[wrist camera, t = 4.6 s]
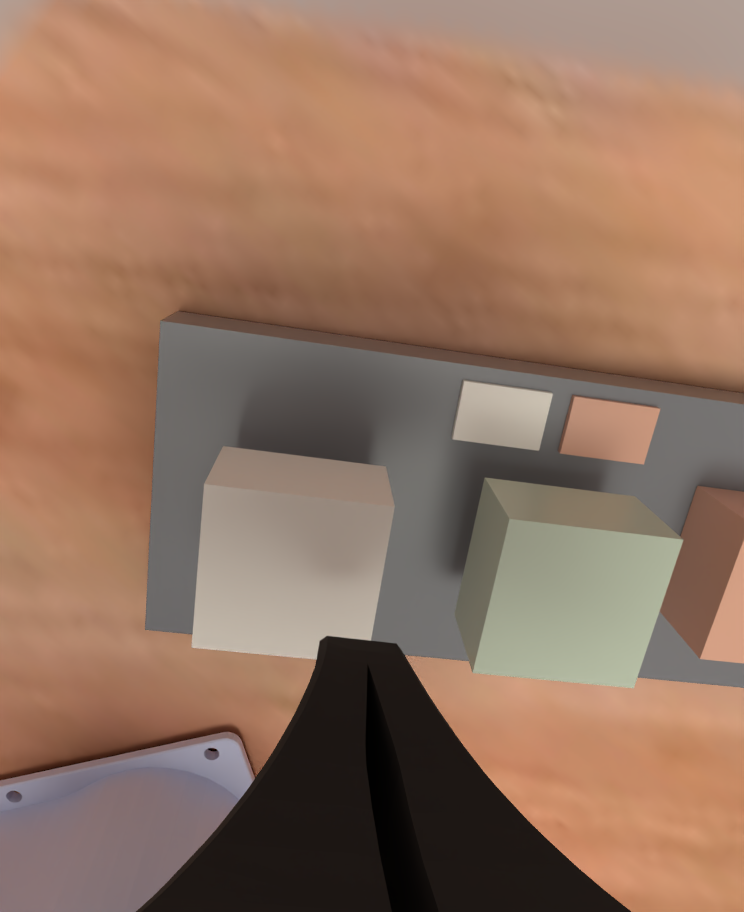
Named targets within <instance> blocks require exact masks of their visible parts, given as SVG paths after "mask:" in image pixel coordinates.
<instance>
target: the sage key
mask: <svg viewBox="0 0 744 912" xmlns="http://www.w3.org/2000/svg"><path fill="white" fill-rule="evenodd" d="M682 543H683V539H682V538H681V537H680V536H679V535H678V534H677V533H675V532H674V531H673V530H672V529H671V528H670V527H669V526H668V525H666V524H665V523H664V522H663V521H662V520H661V519H660V518H659V517H658V516H656V515H655V514H654V513H653V512H652V511H651V510H650V509H649V508H647V507H646V506H645V505H644V504H643V503H642V502H641V501H640V500H638V499H637V498H636V497H635V496H628V495H620V494H612V493H604V492H596V491H588V490H580V489H573V488H565V487H557V486H549V485H541V484H533V483H525V482H517V481H509V480H501V479H493V478H484V483H483V487H482V492H481V496H480V501H479V505H478V510H477V514H476V519H475V523H474V528H473V532H472V537H471V541H470V546H469V550H468V555H467V559H466V564H465V568H464V573H463V577H462V582H461V586H460V591H459V595H458V600H457V604H456V609H455V613H454V615H455V618H456V621H457V624H458V627H459V631H460V634H461V637H462V640H463V643H464V647H465V650H466V653H467V656H468V659H469V663H470V666H471V669H472V672H473V673H479V674H489V675H500V676H510V677H521V678H531V679H542V680H552V681H563V682H573V683H584V684H595V685H605V686H616V687H626V688H634V686H635V683H636V680H637V677H638V674H639V671H640V668H641V665H642V662H643V659H644V656H645V653H646V650H647V647H648V644H649V641H650V638H651V635H652V632H653V629H654V626H655V623H656V620H657V617H658V614H659V611H660V608H661V605H662V602H663V599H664V596H665V593H666V590H667V587H668V584H669V582H670V579H671V576H672V573H673V570H674V567H675V564H676V561H677V558H678V555H679V552H680V549H681V546H682Z"/></svg>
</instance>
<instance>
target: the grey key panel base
mask: <svg viewBox="0 0 744 912" xmlns="http://www.w3.org/2000/svg"><path fill="white" fill-rule="evenodd" d="M223 446H227V447H235V448H243V449H251V450H259V451H267V452H275V453H283V454H291V455H299V456H306V457H314V458H322V459H330V460H338V461H346V462H354V463H362V464H370V465H378V466H386V469H387V474H388V478H389V483H390V487H391V492H392V497H393V501H394V506H395V508H394V514H393V519H392V525H391V531H390V536H389V542H388V547H387V553H386V559H385V564H384V570H383V576H382V581H381V587H380V592H379V598H378V604H377V609H376V615H375V621H374V626H373V632H372V637H371V641H379V642H388V643H397V645H398V646H399V647H400V649H401V650H402V652H403V653H404V655H411V656H421V657H431V658H442V659H452V660H462V661H469V659H468V656H467V653H466V650H465V647H464V643H463V640H462V637H461V634H460V631H459V627H458V624H457V621H456V618H455V615H454V613H455V609H456V604H457V600H458V595H459V591H460V586H461V582H462V577H463V573H464V568H465V564H466V559H467V555H468V550H469V546H470V541H471V537H472V532H473V528H474V523H475V519H476V514H477V510H478V505H479V501H480V496H481V492H482V487H483V483H484V478H493V479H501V480H509V481H517V482H525V483H533V484H541V485H549V486H557V487H565V488H573V489H580V490H588V491H596V492H604V493H612V494H620V495H628V496H635V497H636V498H637V499H638V500H640V501H641V502H642V503H643V504H644V505H645V506H646V507H647V508H649V509H650V510H651V511H652V512H653V513H654V514H655V515H656V516H658V517H659V518H660V519H661V520H662V521H663V522H664V523H665V524H666V525H668V526H669V527H670V528H671V529H672V530H673V531H674V532H675V533H677V534H678V535H679V536H681V533H682V530H683V527H684V524H685V521H686V518H687V515H688V512H689V509H690V506H691V503H692V500H693V497H694V494H695V491H696V488H697V486H704V487H711V488H719V489H727V490H735V491H742V492H744V393H739V392H732V391H725V390H718V389H711V388H705V387H698V386H691V385H684V384H677V383H670V382H663V381H656V380H649V379H643V378H636V377H629V376H622V375H615V374H608V373H601V372H594V371H587V370H581V369H574V368H567V367H560V366H553V365H546V364H539V363H532V362H526V361H519V360H512V359H505V358H498V357H491V356H484V355H477V354H470V353H464V352H457V351H450V350H443V349H436V348H429V347H422V346H415V345H408V344H402V343H395V342H388V341H381V340H374V339H367V338H360V337H353V336H346V335H340V334H333V333H326V332H319V331H312V330H305V329H298V328H291V327H284V326H278V325H271V324H264V323H257V322H250V321H243V320H236V319H229V318H223V317H216V316H209V315H202V314H195V313H188V312H181V311H178V312H176V313H174V314H172V315H170V316H168V317H166V318H165V319H163V320H161V321H160V339H159V359H158V379H157V399H156V420H155V440H154V460H153V480H152V500H151V520H150V541H149V561H148V581H147V601H146V621H145V630H152V631H162V632H173V633H183V634H193V622H194V609H195V595H196V582H197V569H198V556H199V543H200V530H201V517H202V504H203V491H204V483H205V481H206V479H207V477H208V475H209V473H210V471H211V469H212V467H213V465H214V463H215V461H216V459H217V457H218V455H219V453H220V451H221V449H222V447H223ZM638 678H648V679H659V680H669V681H679V682H690V683H700V684H710V685H721V686H731V687H741V688H744V663H734V662H724V661H714V660H704V659H699V657H698V656H697V655H696V654H695V653H694V651H693V650H692V649H691V648H690V647H689V646H688V644H687V643H686V642H685V641H684V640H683V638H682V637H681V636H680V635H679V634H678V633H677V631H676V630H675V629H674V628H673V627H672V626H671V624H670V623H669V622H668V621H667V620H666V618H665V617H664V616H663V615H662V614H661V613H660V611H659V614H658V617H657V620H656V623H655V626H654V629H653V632H652V635H651V638H650V641H649V644H648V647H647V650H646V653H645V656H644V659H643V662H642V665H641V668H640V671H639V674H638Z"/></svg>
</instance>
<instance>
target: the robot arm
mask: <svg viewBox="0 0 744 912" xmlns="http://www.w3.org/2000/svg"><path fill="white" fill-rule="evenodd" d="M208 748H215V749H217V750H218V751H210V750H208ZM14 791H17V792H19V793H16V792H14ZM0 912H631V911H630V910H628V909H627V908H626V907H625V906H623V905H622V904H621V903H620V902H618V901H617V900H616V899H615V898H613V897H612V896H611V895H610V894H608V893H607V892H606V891H605V890H603V889H602V888H601V887H600V886H599V885H597V884H596V883H595V882H594V881H593V880H592V879H590V878H589V877H588V876H587V875H586V874H585V873H583V872H582V871H581V870H580V869H579V868H578V867H576V866H575V865H574V864H573V863H572V862H571V861H570V860H569V859H568V858H567V857H566V856H565V855H563V854H562V853H561V852H560V851H559V850H558V849H557V848H556V847H555V846H554V845H553V844H552V843H550V842H549V841H548V840H547V839H546V838H545V837H544V836H543V835H542V834H541V833H540V832H539V831H538V830H537V829H536V828H535V827H534V826H533V825H532V824H531V823H530V822H529V821H528V820H527V819H526V818H525V817H524V816H523V815H522V814H521V813H520V812H519V811H518V810H517V808H516V807H515V806H514V805H513V804H512V803H511V802H510V801H509V800H508V799H507V798H506V797H505V796H504V794H503V793H502V792H501V791H500V790H499V789H498V788H497V787H496V786H495V785H494V783H493V782H492V781H491V780H490V779H489V778H488V776H487V775H486V774H485V773H484V772H483V770H482V769H481V768H480V766H479V765H478V764H477V763H476V761H475V760H474V759H473V757H472V756H471V755H470V754H469V752H468V751H467V750H466V748H465V747H464V746H463V744H462V743H461V742H460V740H459V739H458V738H457V736H456V735H455V733H454V732H453V730H452V729H451V728H450V726H449V725H448V723H447V722H446V720H445V719H444V717H443V716H442V715H441V713H440V712H439V710H438V709H437V707H436V706H435V704H434V703H433V701H432V700H431V698H430V696H429V695H428V693H427V692H426V690H425V688H424V687H423V685H422V684H421V682H420V680H419V679H418V677H417V675H416V674H415V672H414V670H413V669H412V667H411V665H410V664H409V662H408V660H407V659H406V657H405V655H404V653H403V652H402V650H401V649H400V647H399V646H398V645H397V643H388V642H379V641H370V640H361V639H352V638H343V637H334V636H326V637H325V638H323V639H322V640H320V641H319V648H318V654H317V660H316V666H315V669H314V671H313V674H312V677H311V680H310V682H309V685H308V687H307V689H306V691H305V693H304V695H303V698H302V700H301V702H300V704H299V706H298V708H297V710H296V712H295V714H294V716H293V718H292V720H291V722H290V723H289V725H288V727H287V729H286V730H285V732H284V734H283V736H282V737H281V739H280V741H279V743H278V744H277V746H276V748H275V749H274V751H273V753H272V754H271V756H270V757H269V759H268V760H267V762H266V763H265V765H264V766H263V768H262V769H261V771H260V772H259V774H258V775H257V777H256V778H255V777H254V774H253V772H252V769H251V766H250V763H249V760H248V758H247V755H246V752H245V749H244V746H243V744H242V741H241V739H240V738H239V736H237V735H236V734H235V733H231V732H222V733H217V734H213V735H208V736H203V737H199V738H194V739H190V740H185V741H180V742H176V743H171V744H166V745H162V746H157V747H153V748H148V749H143V750H139V751H134V752H130V753H125V754H120V755H116V756H111V757H106V758H102V759H97V760H93V761H88V762H83V763H79V764H74V765H70V766H65V767H60V768H56V769H51V770H46V771H42V772H37V773H33V774H28V775H23V776H19V777H14V778H10V779H5V780H0Z"/></svg>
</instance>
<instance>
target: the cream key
mask: <svg viewBox="0 0 744 912" xmlns="http://www.w3.org/2000/svg"><path fill="white" fill-rule="evenodd" d="M394 508H395V506H394V501H393V497H392V492H391V487H390V483H389V478H388V474H387V469H386V466H378V465H370V464H362V463H354V462H346V461H338V460H330V459H322V458H314V457H306V456H299V455H291V454H283V453H275V452H267V451H259V450H251V449H243V448H235V447H227V446H223V447H222V449H221V451H220V453H219V455H218V457H217V459H216V461H215V463H214V465H213V467H212V469H211V471H210V473H209V475H208V477H207V479H206V481H205V483H204V491H203V504H202V517H201V530H200V543H199V556H198V569H197V582H196V595H195V609H194V622H193V635H192V648H200V649H210V650H221V651H231V652H242V653H253V654H263V655H274V656H284V657H295V658H305V659H316V660H317V654H318V648H319V641H320V640H322V639H323V638H325V637H326V636H334V637H343V638H352V639H361V640H370V641H371V637H372V632H373V626H374V621H375V615H376V609H377V604H378V598H379V592H380V587H381V581H382V576H383V570H384V564H385V559H386V553H387V547H388V542H389V536H390V531H391V525H392V519H393V514H394Z"/></svg>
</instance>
